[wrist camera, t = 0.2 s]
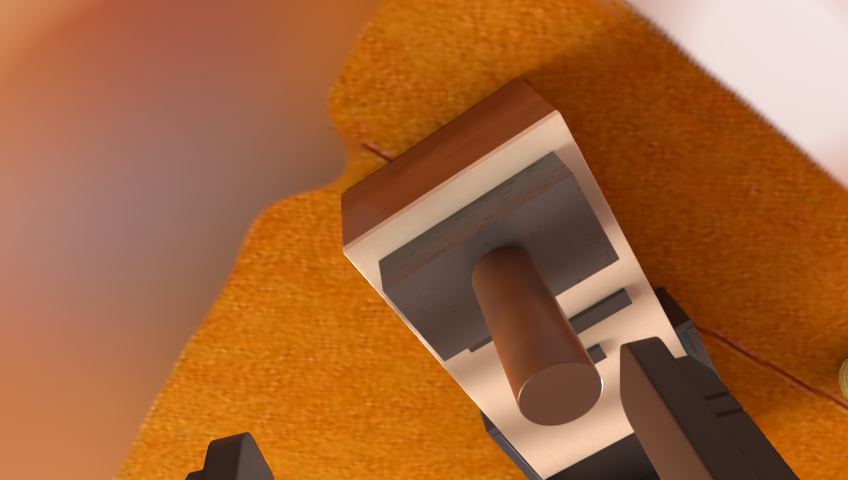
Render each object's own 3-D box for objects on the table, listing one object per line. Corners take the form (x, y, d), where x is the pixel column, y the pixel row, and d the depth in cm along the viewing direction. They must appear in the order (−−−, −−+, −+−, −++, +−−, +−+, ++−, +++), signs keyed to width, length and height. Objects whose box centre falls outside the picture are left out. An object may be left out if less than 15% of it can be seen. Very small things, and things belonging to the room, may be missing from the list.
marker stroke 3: (538, 375, 31) (540, 379, 31) (598, 342, 30) (600, 346, 30) (546, 386, 32) (548, 390, 31) (605, 353, 31) (607, 357, 31)
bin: (474, 393, 39) (486, 432, 36) (662, 286, 37) (691, 318, 34) (576, 510, 48) (592, 550, 45) (735, 429, 45) (763, 465, 42)
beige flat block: (340, 194, 31) (342, 252, 26) (518, 75, 29) (560, 112, 24) (516, 407, 41) (543, 480, 36) (657, 329, 39) (707, 394, 34)
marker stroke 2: (560, 323, 29) (562, 327, 29) (623, 287, 29) (625, 290, 29) (568, 335, 30) (570, 339, 30) (630, 300, 29) (633, 303, 29)
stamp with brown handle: (377, 260, 26) (400, 420, 18) (552, 150, 25) (662, 269, 16) (436, 329, 28) (478, 496, 20) (597, 232, 27) (713, 372, 19)
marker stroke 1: (460, 337, 29) (461, 341, 29) (522, 300, 28) (524, 304, 28) (470, 349, 29) (471, 353, 29) (531, 313, 29) (533, 317, 29)
